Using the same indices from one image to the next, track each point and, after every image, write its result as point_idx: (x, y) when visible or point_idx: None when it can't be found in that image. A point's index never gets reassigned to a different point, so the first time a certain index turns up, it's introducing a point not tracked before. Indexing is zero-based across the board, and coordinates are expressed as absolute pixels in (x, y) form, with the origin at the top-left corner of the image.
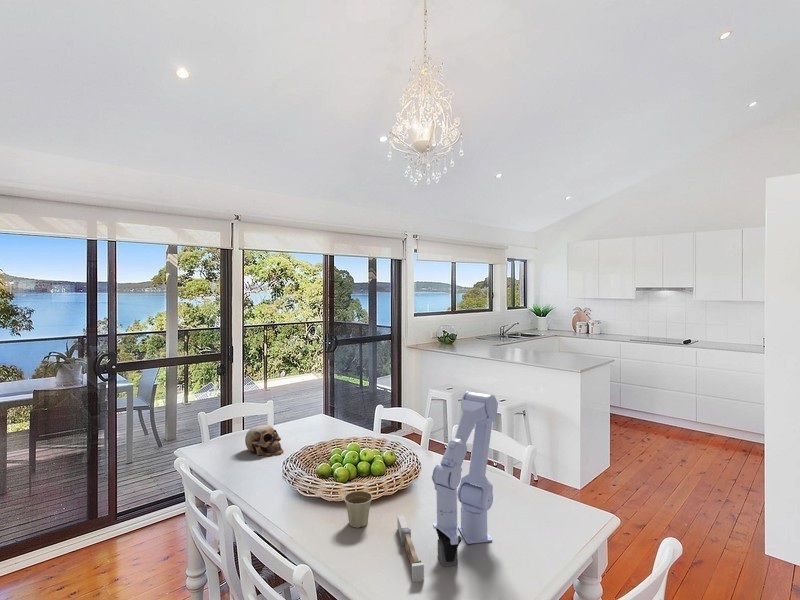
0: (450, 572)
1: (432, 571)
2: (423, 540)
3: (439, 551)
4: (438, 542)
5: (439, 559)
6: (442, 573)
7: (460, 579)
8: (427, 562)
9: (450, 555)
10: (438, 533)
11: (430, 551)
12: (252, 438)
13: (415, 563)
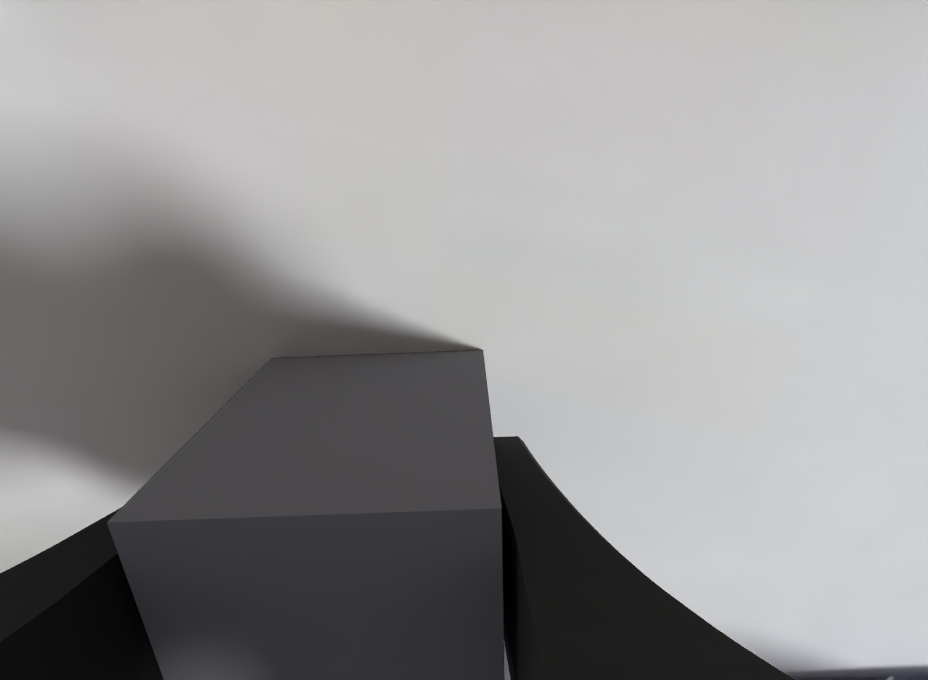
0: (157, 426)
1: (165, 210)
2: (924, 230)
3: (364, 415)
4: (411, 495)
5: (389, 359)
6: (130, 333)
7: (40, 496)
8: (374, 179)
9: None
10: (533, 670)
11: (622, 278)
12: None
13: None
